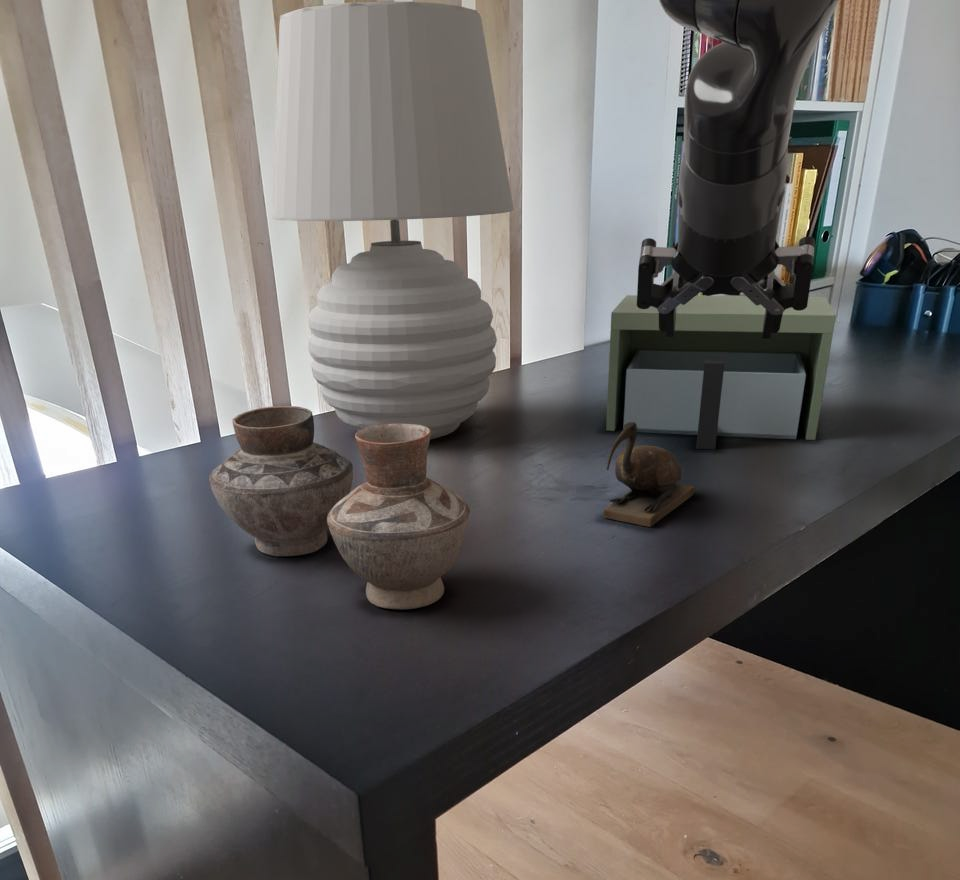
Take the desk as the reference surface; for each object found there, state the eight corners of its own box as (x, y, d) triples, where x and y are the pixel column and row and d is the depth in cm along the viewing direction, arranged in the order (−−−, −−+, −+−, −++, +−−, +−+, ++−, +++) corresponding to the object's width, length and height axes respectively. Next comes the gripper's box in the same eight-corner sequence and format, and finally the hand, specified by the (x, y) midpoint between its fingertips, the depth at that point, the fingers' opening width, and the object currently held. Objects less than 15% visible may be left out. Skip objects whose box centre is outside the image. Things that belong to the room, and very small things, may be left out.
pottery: (392, 643, 56) (377, 466, 50) (196, 547, 71) (167, 402, 66) (508, 587, 63) (507, 426, 57) (307, 510, 78) (290, 377, 73)
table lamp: (403, 478, 86) (367, -17, 67) (257, 435, 101) (194, 23, 82) (558, 424, 102) (565, 13, 83) (412, 395, 117) (390, 42, 98)
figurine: (629, 544, 70) (635, 438, 65) (580, 533, 72) (583, 431, 68) (694, 494, 80) (703, 400, 75) (649, 486, 82) (656, 394, 78)
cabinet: (815, 440, 94) (836, 315, 88) (605, 430, 99) (611, 312, 93) (807, 409, 106) (825, 296, 99) (620, 402, 111) (626, 295, 105)
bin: (798, 453, 90) (812, 365, 85) (617, 444, 94) (621, 360, 90) (791, 412, 104) (802, 335, 100) (634, 406, 109) (639, 332, 105)
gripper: (835, 150, 63) (802, 295, 78) (639, 156, 66) (644, 294, 82) (829, 235, 61) (796, 367, 76) (628, 237, 64) (635, 363, 80)
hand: (717, 330), depth 79 cm, fingers open, 8 cm apart
